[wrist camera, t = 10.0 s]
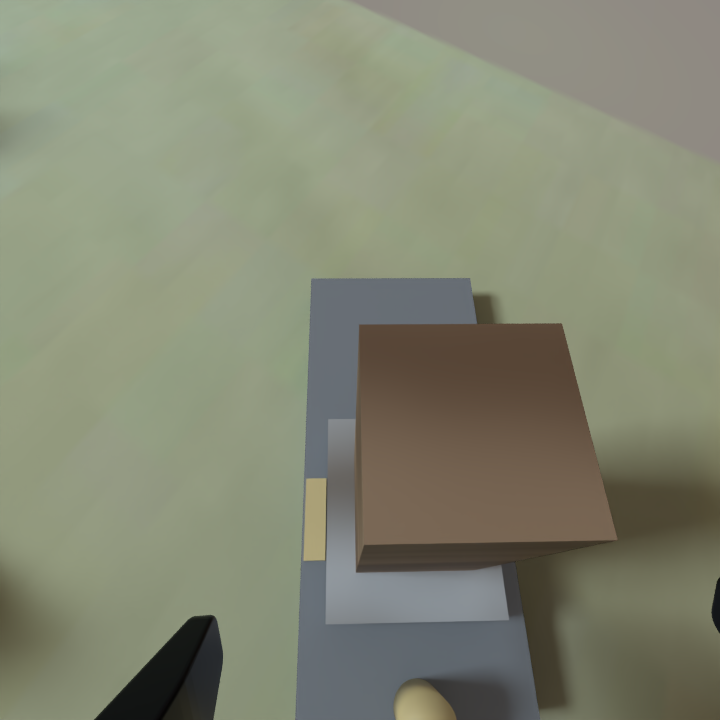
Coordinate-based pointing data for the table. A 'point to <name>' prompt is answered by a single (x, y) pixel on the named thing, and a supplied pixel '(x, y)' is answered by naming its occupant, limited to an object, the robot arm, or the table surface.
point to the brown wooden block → (456, 471)
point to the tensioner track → (316, 638)
